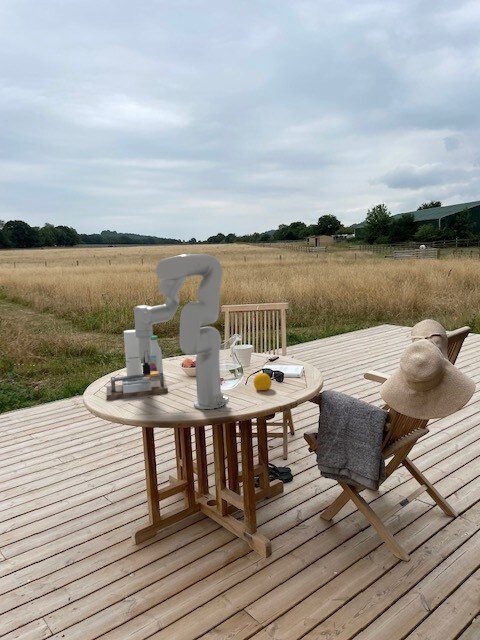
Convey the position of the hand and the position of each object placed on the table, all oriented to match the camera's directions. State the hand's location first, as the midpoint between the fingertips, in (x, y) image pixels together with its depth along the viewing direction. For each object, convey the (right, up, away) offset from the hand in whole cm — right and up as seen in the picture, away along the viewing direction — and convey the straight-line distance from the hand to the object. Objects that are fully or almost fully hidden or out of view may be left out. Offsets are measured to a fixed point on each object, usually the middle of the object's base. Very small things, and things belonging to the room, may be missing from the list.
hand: (146, 373), depth 204 cm
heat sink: (-4, -6, -1) cm, 7 cm away
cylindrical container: (-9, -6, +16) cm, 19 cm away
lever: (-5, -2, -2) cm, 5 cm away
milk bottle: (-1, -4, +27) cm, 28 cm away
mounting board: (-4, -8, -1) cm, 9 cm away
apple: (+52, -7, -5) cm, 53 cm away
